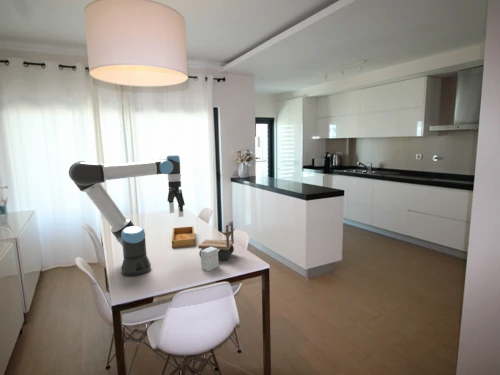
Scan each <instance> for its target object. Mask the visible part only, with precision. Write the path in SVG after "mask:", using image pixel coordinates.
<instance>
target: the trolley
mask: <svg viewBox="0 0 500 375" xmlns="http://www.w3.org/2000/svg"><path fill="white" fill-rule="evenodd" d="M229 230H230V233H229ZM229 235H230V236H229ZM225 238H226V239H204V241H202V243H200V244H199V245H198V249H200V250H199V257H200V258H201V250H204V249H206V248H209V247H214V248H217V249H218V260H220V261H223V262H225V261H228V259H229V258H230V256H231V255H232V254H233V252H234V251H235V247H234V244H235V240H234V220H230V221H229V222H228V223H227V224H226V225H225Z"/></svg>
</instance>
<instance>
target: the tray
mask: <svg viewBox="0 0 500 375" xmlns="http://www.w3.org/2000/svg"><path fill="white" fill-rule="evenodd" d="M195 246H196V238H195V229H194V226H192V225H191V226H180V227H179V226H178V227H173V228H172V234H171V248H172V249H175V248H176V249H177V248H185V247H195Z"/></svg>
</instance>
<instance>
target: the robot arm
mask: <svg viewBox="0 0 500 375" xmlns="http://www.w3.org/2000/svg"><path fill="white" fill-rule="evenodd" d="M180 158H181V157H180V156H179V155H177V154H176V155H175V154H173V155H166V158H164V159H163V158H160V159H159V158H158V159H157V158H156V159H155V158H154V159H148V160H147V161H139V162H138V161H136V162H127V163H115V164H103V163H91V162H87V161H83V160H81V161H76V162H74V163H73V164H72V165H71V166H70V167H69V169H68V176H69V178H70V180H72V181H73V182H74V184H75V186H76V187H77V188H78V190H80V192H81V193H82V192H83V193H85V194H86V195H87V197H89V199H90V200H91V201H92V202H93V204H94V205H95V207H96V208H97V209H98V211H99V212H100V214H101V215H102V217H104V219H105V220H106V221H107V223H108V224H109V226H110V227H111V230H110V232H111V233H112V235H113V236H114V237H115V239H116V241H117V242H118V243H119V244H120V245H121V246H122V252H123V253H122V254H123V260H122V264H121V268H120V271H121V272H120V273H121V275H123V276H126V277H137V276H141V275H145V274H147V273H149V272H150V271H151V270H152V265H151V262H150V260H149V258H148V255H147V246H146V245H147V244H146V232H145V229H144V228H143V227H142V226H136V225H135V224H134V223H133V222H132V220H131V219H130V218H126V217H125V216H124V214H123V212H122V211H121V210H120V209H119V207H118V205H117V204H116V203H115V201H114V200H113V199H112V197H111V195H110V194H109V193H108V192H107V190H106V189H105V188H104V186H103V184H102V183H105V182H106V181H111V180H120V179H121V180H122V179H129V178H137V177H145V176H153V175H154V176H155V175H167V180H168V195H167V202H168V206H169V214H175V201H174V200H176V201H177V204H178V205H177V206H178V208H177V209H178V211H177V212H178V218H182V217H184V206H185V205H186V204H185V200H184V196H183V191H182V189H180V188H181V187H182V181H181V177H182V175H181V160H180Z"/></svg>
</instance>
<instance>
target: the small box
mask: <svg viewBox="0 0 500 375" xmlns="http://www.w3.org/2000/svg"><path fill="white" fill-rule="evenodd" d="M200 250H201V249H200ZM218 251H219V249H217V248H214V247H209V248H206V249H204V250H201V257H200V266H201V269H202V270H204V271H207V272H210V271H212V270H214V269H216V268H219V264H220V263H219V258H218Z"/></svg>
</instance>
